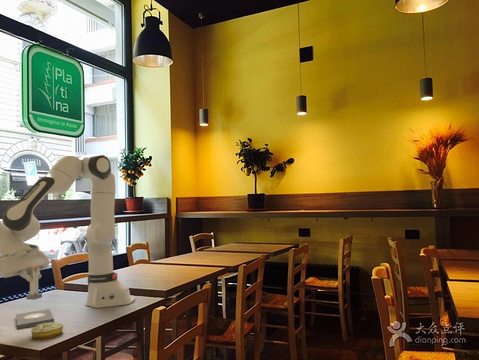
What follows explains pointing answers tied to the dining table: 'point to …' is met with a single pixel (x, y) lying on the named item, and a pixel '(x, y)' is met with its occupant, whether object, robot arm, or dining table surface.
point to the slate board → (33, 318)
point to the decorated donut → (47, 330)
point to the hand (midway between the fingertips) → (35, 279)
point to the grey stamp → (34, 284)
